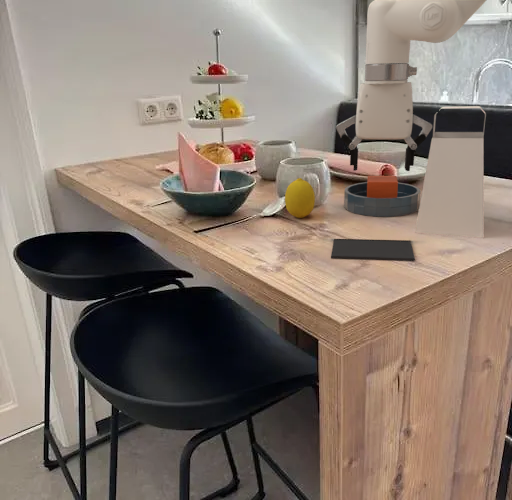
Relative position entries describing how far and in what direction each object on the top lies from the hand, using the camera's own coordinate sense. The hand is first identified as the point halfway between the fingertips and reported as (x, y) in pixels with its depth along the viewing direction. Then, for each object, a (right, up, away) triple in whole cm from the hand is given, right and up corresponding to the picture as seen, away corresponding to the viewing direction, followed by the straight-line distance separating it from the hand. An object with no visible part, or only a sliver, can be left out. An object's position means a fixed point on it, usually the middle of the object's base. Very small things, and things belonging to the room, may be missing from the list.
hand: (380, 169), depth 96 cm
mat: (-6, -15, -18) cm, 24 cm away
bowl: (+1, -7, +3) cm, 8 cm away
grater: (+9, -12, -11) cm, 18 cm away
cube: (+1, -7, +2) cm, 7 cm away
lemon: (-16, -10, -2) cm, 19 cm away
